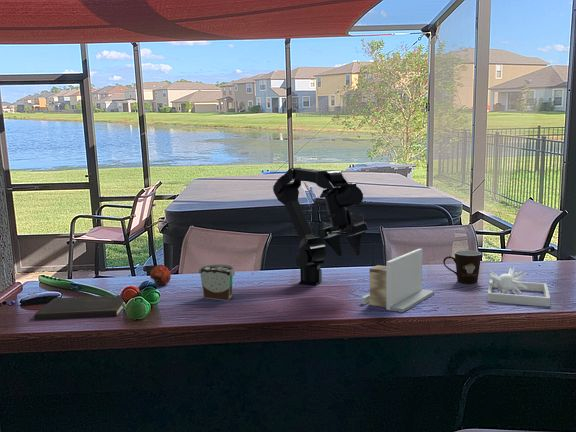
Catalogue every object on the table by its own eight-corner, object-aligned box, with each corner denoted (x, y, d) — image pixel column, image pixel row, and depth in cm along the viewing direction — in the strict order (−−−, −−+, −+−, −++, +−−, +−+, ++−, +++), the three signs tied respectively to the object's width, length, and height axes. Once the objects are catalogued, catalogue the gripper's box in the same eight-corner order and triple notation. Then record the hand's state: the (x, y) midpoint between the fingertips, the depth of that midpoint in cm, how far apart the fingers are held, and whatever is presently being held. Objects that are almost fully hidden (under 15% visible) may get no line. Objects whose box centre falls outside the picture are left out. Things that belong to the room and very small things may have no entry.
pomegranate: (162, 294, 180) (180, 273, 185) (148, 280, 177) (167, 258, 182) (152, 293, 186) (170, 271, 191) (138, 279, 182) (157, 258, 187)
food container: (243, 296, 168) (241, 265, 167) (233, 301, 162) (231, 270, 161) (210, 292, 173) (209, 262, 172) (199, 297, 168) (198, 267, 166)
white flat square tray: (487, 301, 156) (487, 293, 156) (489, 286, 171) (489, 279, 171) (549, 306, 150) (550, 298, 149) (546, 291, 165) (546, 283, 165)
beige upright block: (369, 304, 156) (369, 268, 154) (377, 300, 160) (377, 265, 158) (388, 308, 152) (388, 271, 151) (395, 303, 156) (395, 267, 155)
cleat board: (359, 304, 156) (359, 258, 154) (393, 287, 173) (393, 245, 172) (403, 312, 148) (403, 264, 146) (434, 294, 165) (434, 250, 163)
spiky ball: (489, 290, 171) (487, 265, 171) (530, 290, 166) (528, 263, 166) (486, 299, 161) (484, 272, 161) (529, 299, 156) (527, 271, 155)
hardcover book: (54, 305, 165) (54, 298, 165) (129, 301, 167) (128, 294, 167) (34, 322, 149) (33, 314, 149) (117, 318, 151) (116, 310, 151)
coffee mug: (483, 280, 179) (484, 251, 178) (477, 286, 172) (478, 256, 171) (449, 276, 186) (449, 248, 184) (442, 282, 179) (442, 253, 177)
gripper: (374, 199, 165) (386, 247, 165) (338, 206, 180) (350, 250, 181) (347, 208, 159) (360, 257, 159) (313, 214, 175) (325, 259, 175)
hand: (349, 255), depth 169 cm, fingers open, 9 cm apart
